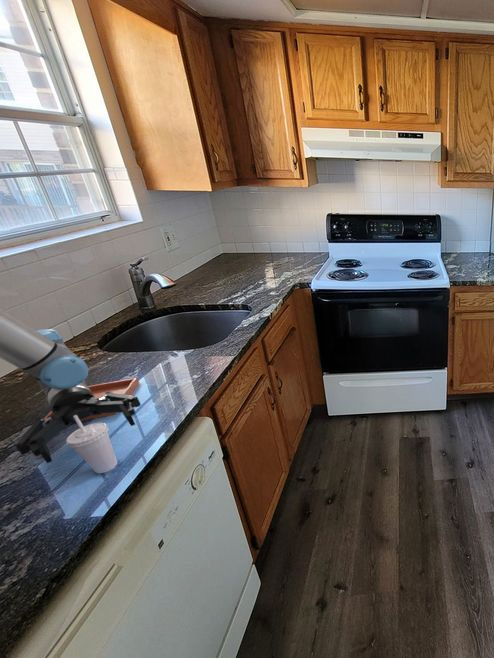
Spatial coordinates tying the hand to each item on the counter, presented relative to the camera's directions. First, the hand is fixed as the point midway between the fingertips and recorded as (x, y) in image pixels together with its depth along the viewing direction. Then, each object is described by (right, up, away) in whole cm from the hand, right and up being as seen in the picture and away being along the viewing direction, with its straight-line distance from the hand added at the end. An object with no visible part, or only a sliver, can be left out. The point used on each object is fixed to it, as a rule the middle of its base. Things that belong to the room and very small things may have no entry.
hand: (91, 437), depth 77 cm
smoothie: (+1, -7, +3) cm, 8 cm away
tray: (-22, +2, +24) cm, 32 cm away
